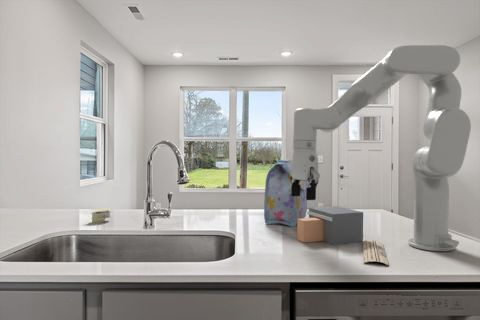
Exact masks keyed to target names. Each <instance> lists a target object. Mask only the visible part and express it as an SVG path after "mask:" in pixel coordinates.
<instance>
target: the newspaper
mask: <svg viewBox="0 0 480 320" xmlns="http://www.w3.org/2000/svg"><path fill="white" fill-rule="evenodd" d="M362 253H363V255H362V256H363V263H364V265H366V264H367V263H373V262H376V263H381V264H384V265H385V266H386V267H389V261H388V257H387V255H386V250H385V248H384V245H383V242H381V241H379V240H374V239H367V240H363V242H362Z"/></svg>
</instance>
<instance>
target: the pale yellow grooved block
mask: <svg viewBox="0 0 480 320" xmlns="http://www.w3.org/2000/svg"><path fill="white" fill-rule="evenodd" d="M111 209H112V208H107V207H106V208H105V207H99V208H94V209H92V211H94V212H90V214H91V222H92V223H96V224H99V223H103V222H106V221H105V220H106V219H110V218H112V216H111V211H110V210H111Z"/></svg>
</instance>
